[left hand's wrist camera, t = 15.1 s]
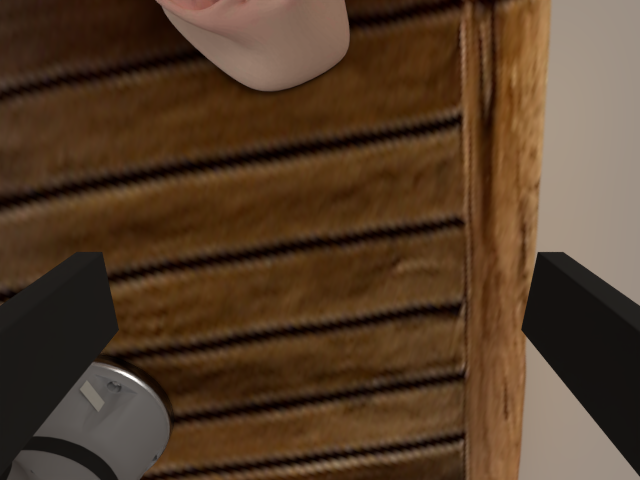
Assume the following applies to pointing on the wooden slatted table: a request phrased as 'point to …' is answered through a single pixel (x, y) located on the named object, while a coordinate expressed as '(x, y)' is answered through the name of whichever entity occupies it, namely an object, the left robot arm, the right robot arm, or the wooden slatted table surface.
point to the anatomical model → (265, 37)
